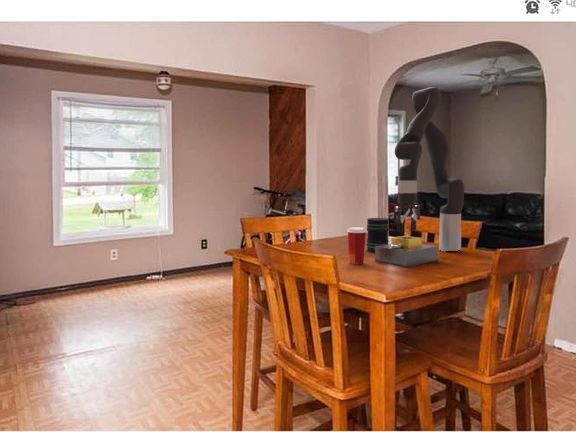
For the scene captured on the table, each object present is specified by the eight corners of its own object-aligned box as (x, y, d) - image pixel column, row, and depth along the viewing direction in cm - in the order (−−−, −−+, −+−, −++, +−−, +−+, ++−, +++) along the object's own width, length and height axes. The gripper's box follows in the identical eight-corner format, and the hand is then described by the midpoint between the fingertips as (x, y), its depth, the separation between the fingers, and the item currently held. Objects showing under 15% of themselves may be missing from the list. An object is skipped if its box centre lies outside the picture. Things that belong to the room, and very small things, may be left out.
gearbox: (405, 255, 204) (405, 233, 203) (437, 260, 191) (438, 237, 190) (374, 260, 191) (375, 238, 190) (406, 267, 179) (407, 242, 178)
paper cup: (367, 261, 190) (367, 227, 188) (364, 265, 182) (364, 229, 181) (348, 260, 192) (348, 226, 191) (344, 264, 185) (344, 229, 184)
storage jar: (392, 251, 213) (393, 219, 212) (377, 253, 208) (378, 220, 206) (377, 248, 222) (377, 217, 220) (362, 250, 216) (362, 218, 215)
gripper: (410, 191, 196) (409, 229, 197) (388, 192, 187) (388, 232, 189) (425, 191, 190) (425, 231, 192) (404, 192, 181) (403, 234, 183)
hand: (406, 231), depth 190 cm, fingers open, 8 cm apart
